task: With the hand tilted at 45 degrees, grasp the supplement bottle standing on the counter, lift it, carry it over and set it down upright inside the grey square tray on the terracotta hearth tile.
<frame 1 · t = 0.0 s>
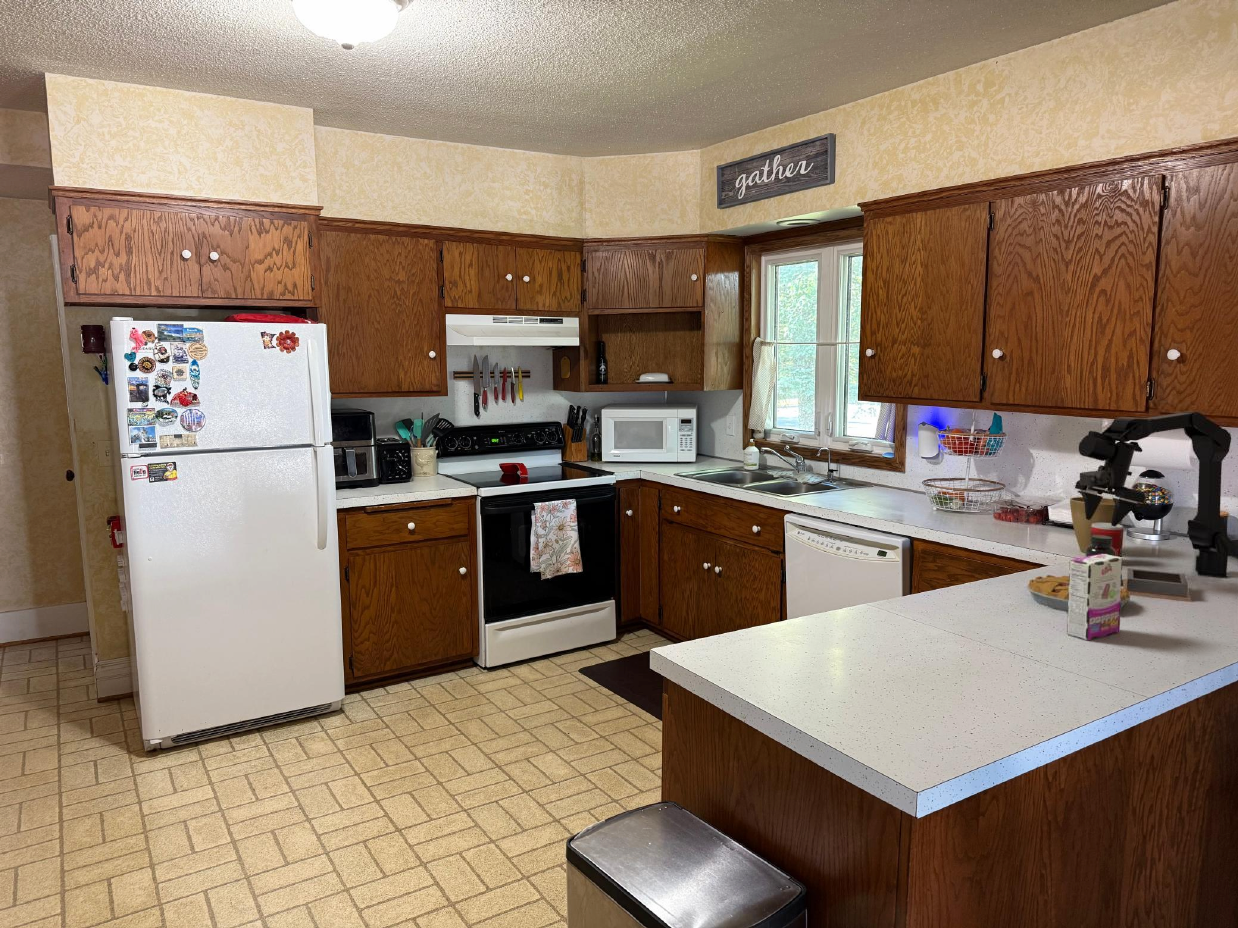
hand: (1100, 522, 221), 15 cm above the counter, tool pointing down, fingers open, 9 cm apart
supplement bottle: (1098, 582, 222), on the counter
candy bar box: (1092, 634, 180), on the counter
grey square tray: (1155, 591, 213), on the counter
pie: (1076, 604, 203), on the counter
canned food: (1105, 563, 243), on the counter
plant pot: (1094, 552, 257), on the counter
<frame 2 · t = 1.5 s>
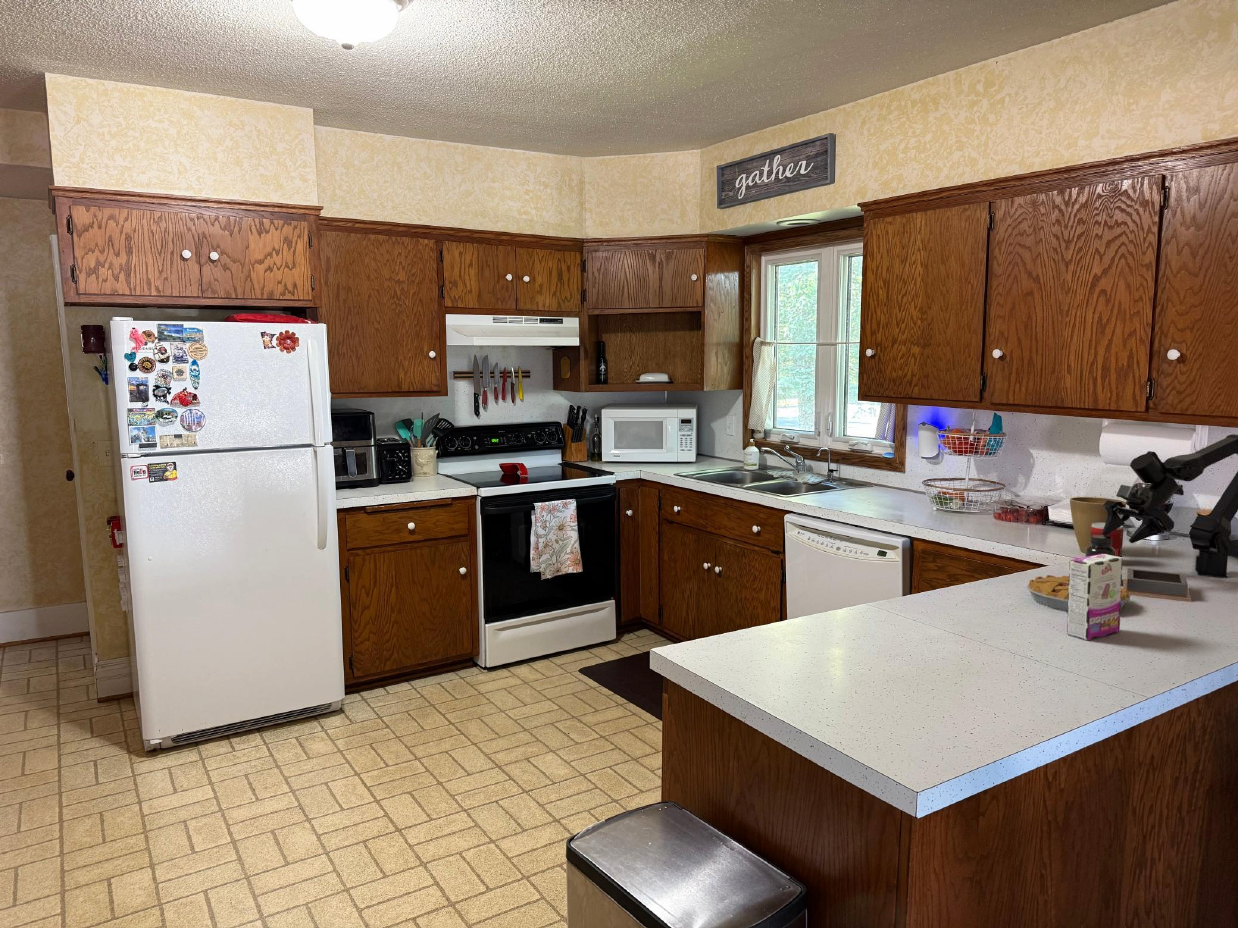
hand: (1116, 538, 222), 11 cm above the counter, tool tilted 45°, fingers open, 9 cm apart
nothing on the counter moved.
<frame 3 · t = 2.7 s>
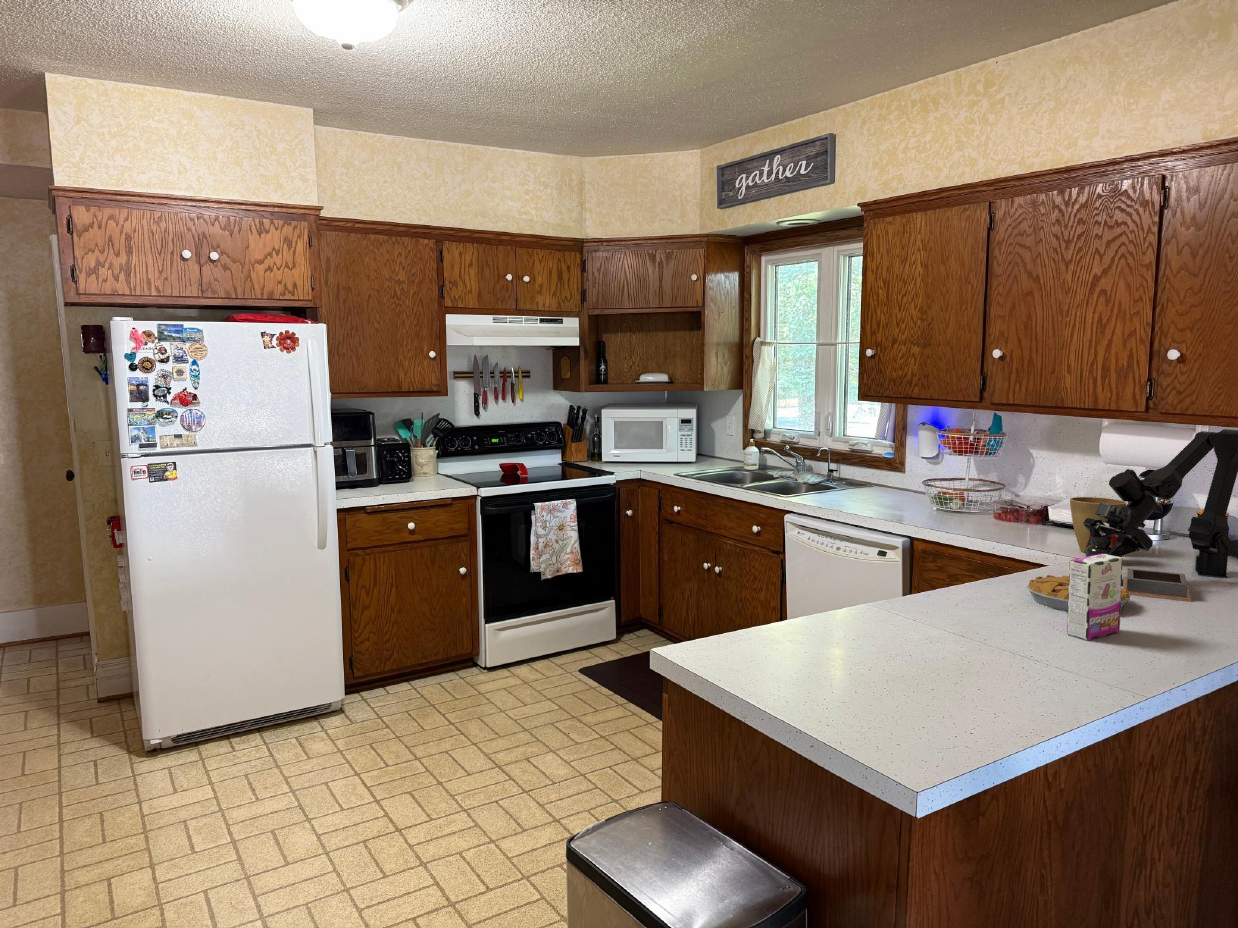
hand: (1095, 556, 221), 7 cm above the counter, tool tilted 45°, fingers closed on supplement bottle, 7 cm apart
supplement bottle: (1098, 582, 222), on the counter, touching gripper
everything else where it was.
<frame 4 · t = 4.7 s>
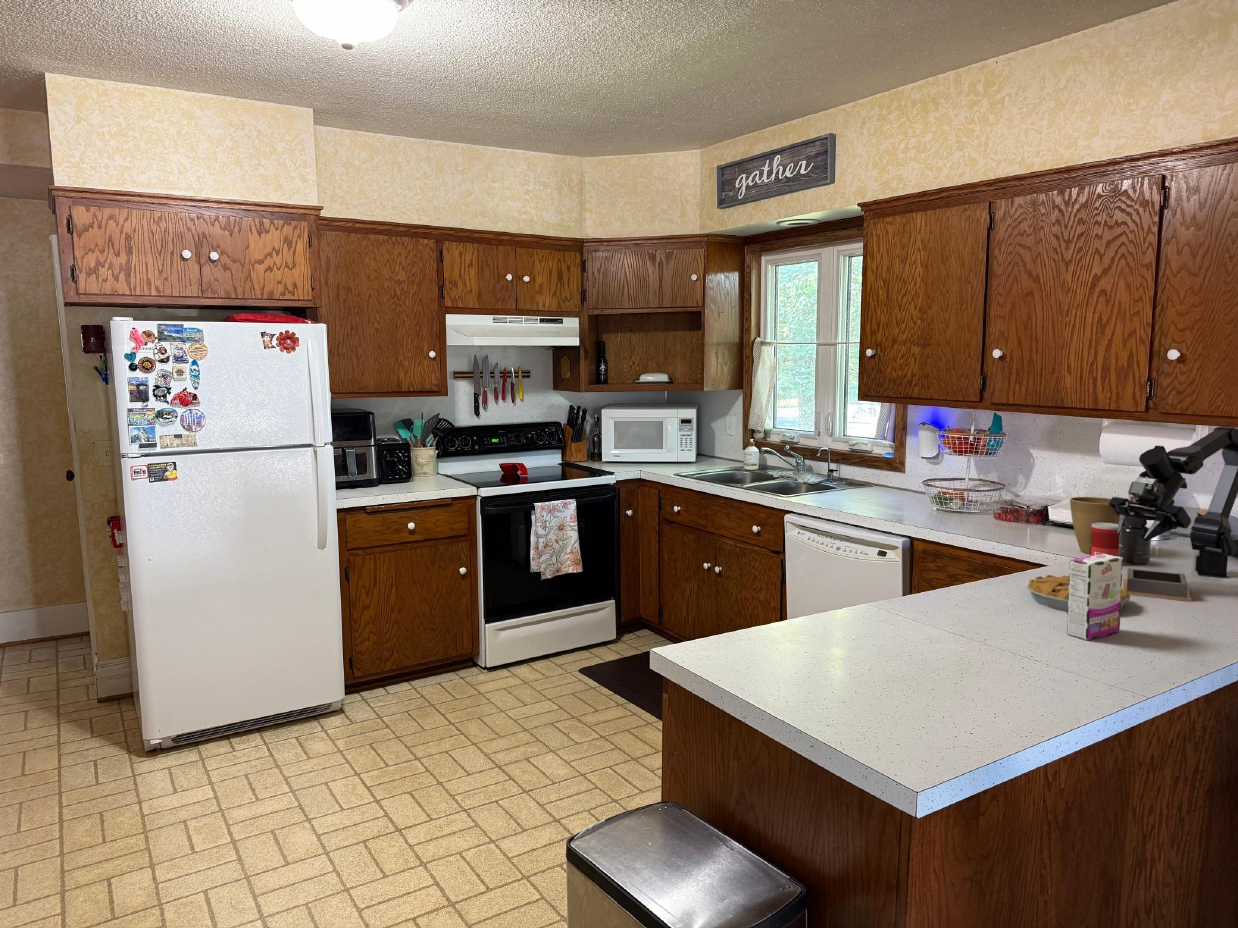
hand: (1131, 537, 214), 13 cm above the counter, tool tilted 45°, fingers closed on supplement bottle, 7 cm apart
supplement bottle: (1133, 563, 216), point 6 cm above the counter, touching gripper
everything else where it was.
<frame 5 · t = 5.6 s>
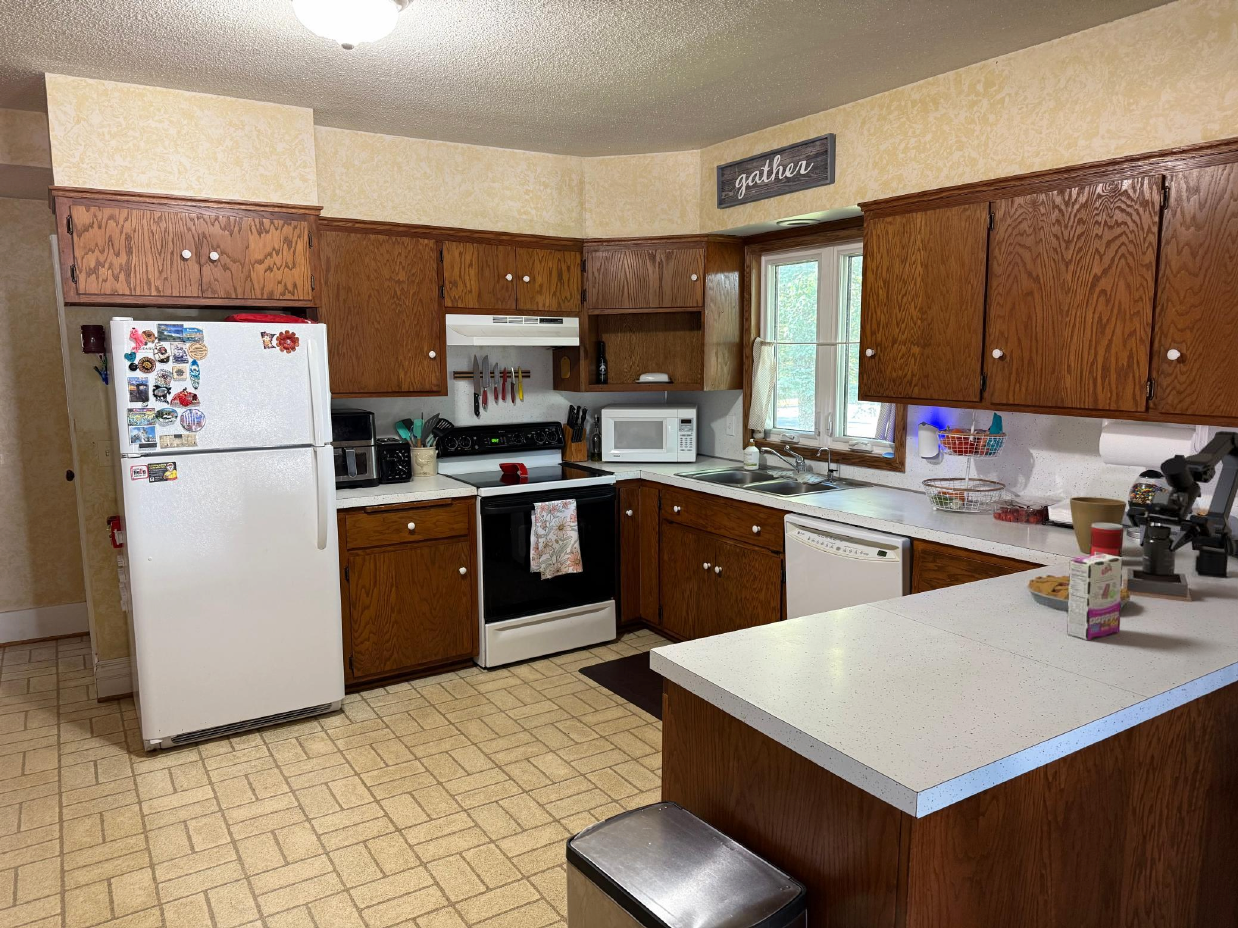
hand: (1156, 548, 211), 11 cm above the counter, tool tilted 45°, fingers closed on supplement bottle, 7 cm apart
supplement bottle: (1158, 574, 212), point 4 cm above the counter, touching gripper
everything else where it was.
when the fingers open (9 cm above the counter, at t = 6.5 s): supplement bottle drops 1 cm, resting on grey square tray.
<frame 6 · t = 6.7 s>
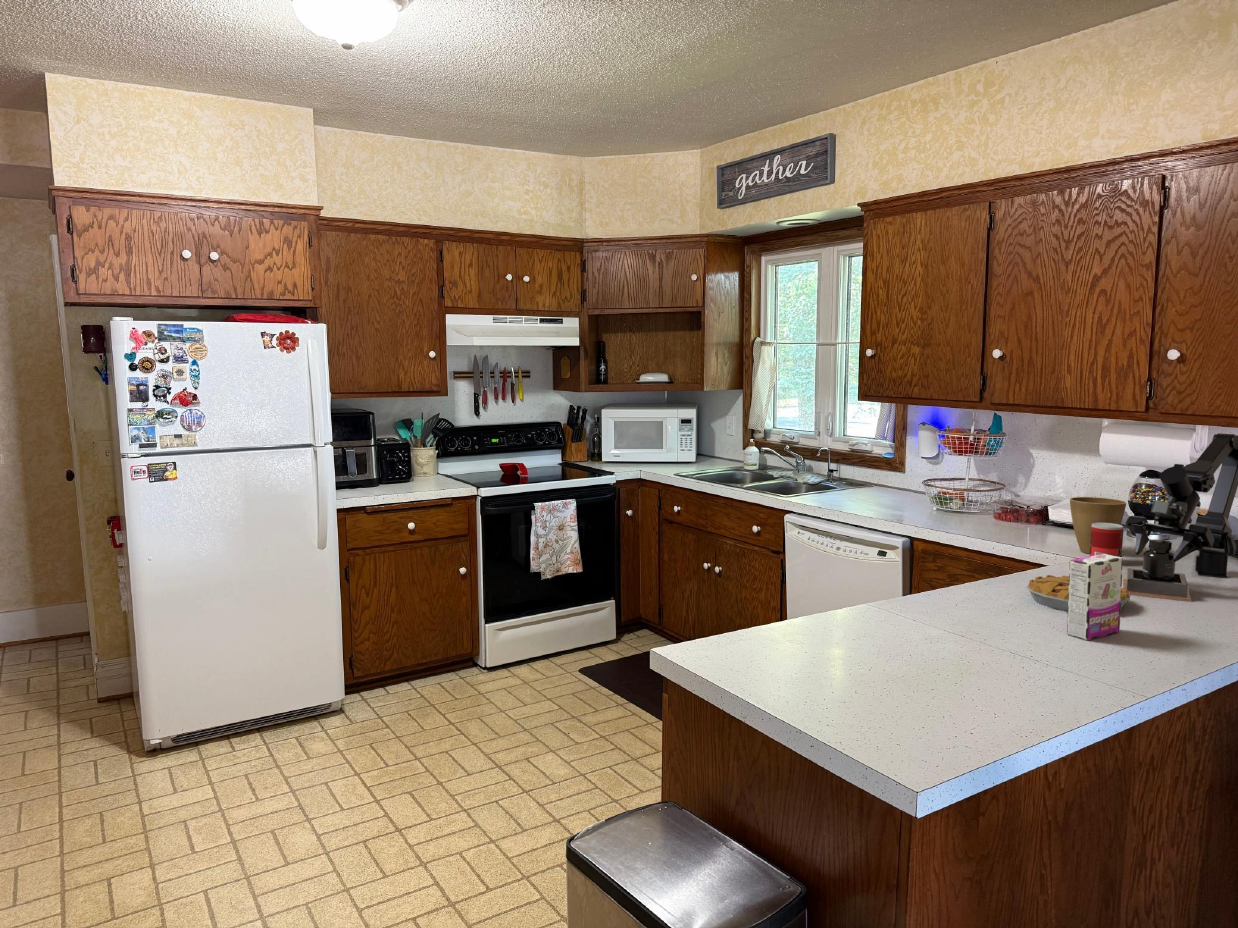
hand: (1155, 557, 211), 9 cm above the counter, tool tilted 45°, fingers open, 8 cm apart
supplement bottle: (1157, 588, 212), point 1 cm above the counter, touching grey square tray
everything else where it was.
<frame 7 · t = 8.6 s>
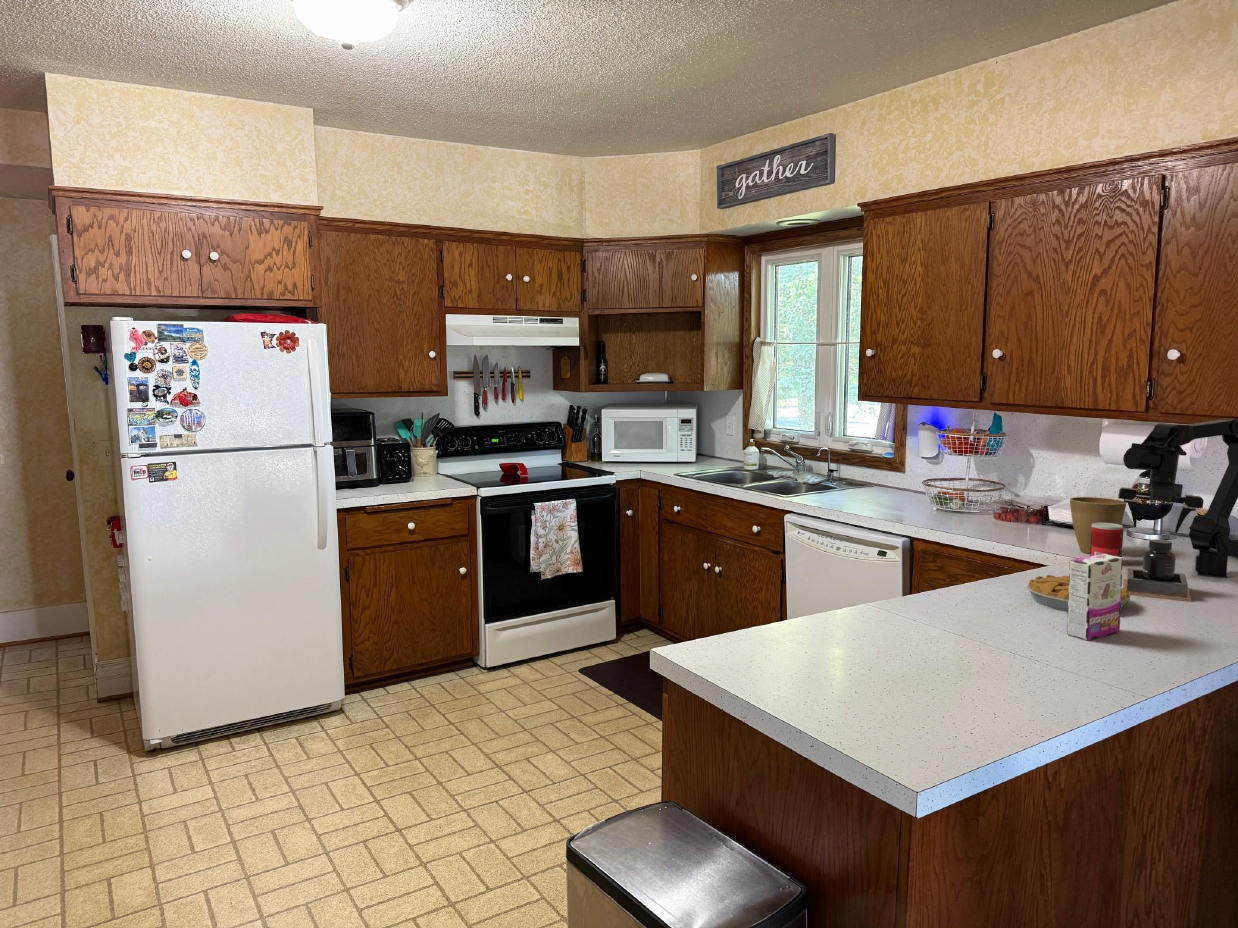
hand: (1155, 529, 224), 13 cm above the counter, tool pointing down, fingers open, 9 cm apart
nothing on the counter moved.
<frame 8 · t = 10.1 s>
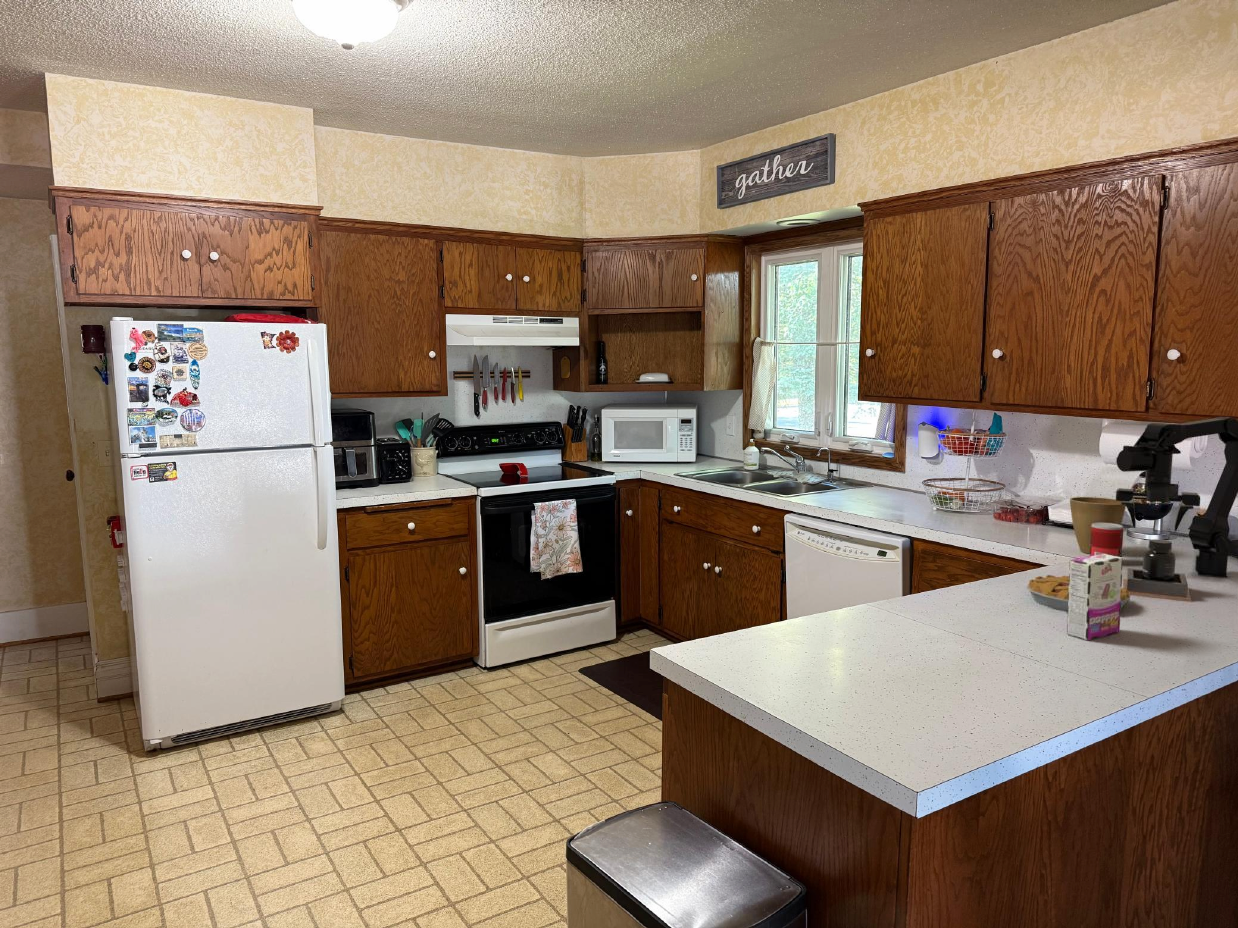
hand: (1154, 529, 225), 13 cm above the counter, tool pointing down, fingers open, 9 cm apart
nothing on the counter moved.
at the end: supplement bottle inside the target area on the grey square tray (0.3 cm from its centre), point 0.6 cm above the grey square tray's base; supplement bottle tilted 0°; the gripper is holding nothing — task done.
